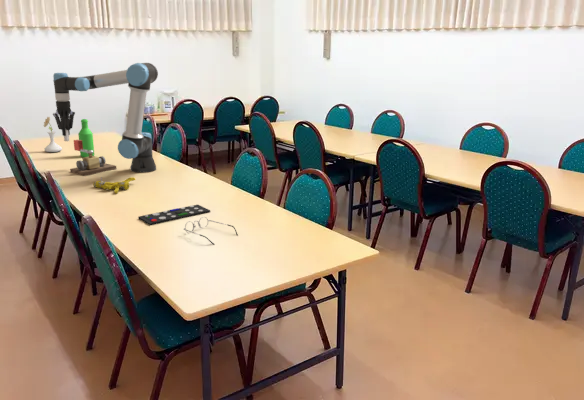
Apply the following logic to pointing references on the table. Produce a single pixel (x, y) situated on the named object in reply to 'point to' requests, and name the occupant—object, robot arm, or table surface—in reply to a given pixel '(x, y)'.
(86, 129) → the bottle
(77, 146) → the lever
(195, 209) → the remote control
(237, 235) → the eyeglasses
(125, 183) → the yellow toy lizard
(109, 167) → the valve board
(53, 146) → the flower in vase
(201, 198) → the table surface
